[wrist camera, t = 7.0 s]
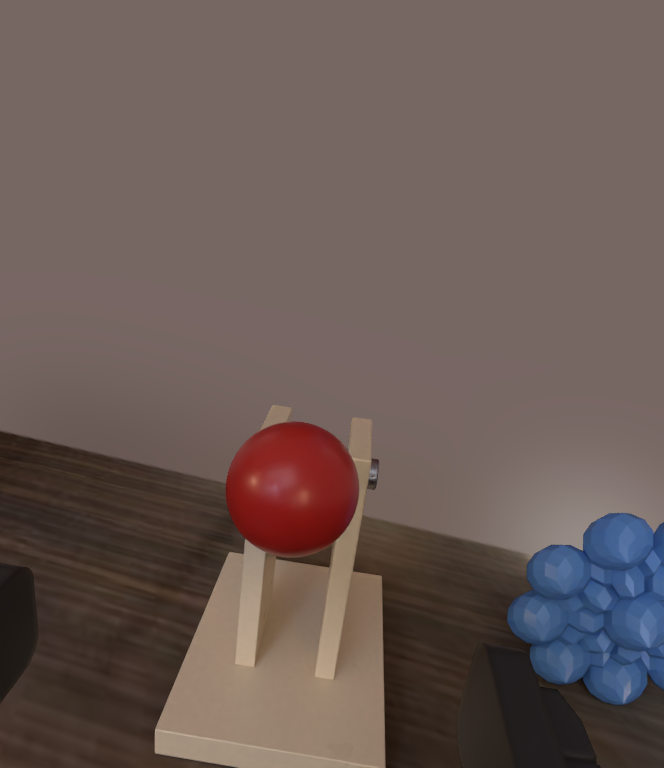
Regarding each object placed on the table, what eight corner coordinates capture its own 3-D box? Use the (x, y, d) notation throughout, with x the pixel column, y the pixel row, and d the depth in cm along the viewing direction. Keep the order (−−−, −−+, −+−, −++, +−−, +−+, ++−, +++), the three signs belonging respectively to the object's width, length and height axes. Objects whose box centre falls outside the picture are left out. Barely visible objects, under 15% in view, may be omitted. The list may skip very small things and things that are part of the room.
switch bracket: (380, 792, 22) (443, 524, 17) (154, 753, 22) (157, 480, 18) (378, 594, 33) (416, 399, 29) (227, 570, 34) (241, 373, 29)
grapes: (682, 662, 31) (763, 493, 27) (738, 774, 25) (854, 576, 21) (487, 610, 33) (535, 446, 29) (494, 702, 27) (556, 508, 23)
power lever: (350, 585, 12) (372, 431, 12) (198, 561, 12) (223, 409, 12) (345, 505, 25) (356, 432, 25) (273, 494, 25) (284, 421, 25)
